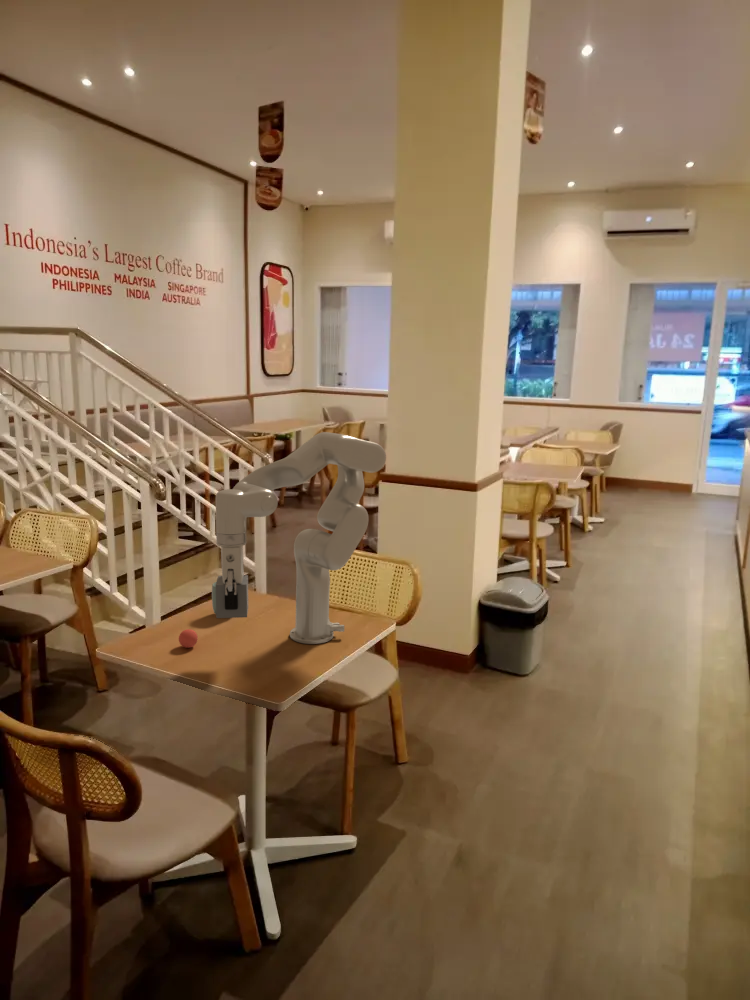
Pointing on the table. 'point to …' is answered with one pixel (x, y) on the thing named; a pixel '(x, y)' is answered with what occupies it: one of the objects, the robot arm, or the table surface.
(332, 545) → the robot arm
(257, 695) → the table surface
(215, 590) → the cup
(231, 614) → the matte gray cube
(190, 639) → the ball
